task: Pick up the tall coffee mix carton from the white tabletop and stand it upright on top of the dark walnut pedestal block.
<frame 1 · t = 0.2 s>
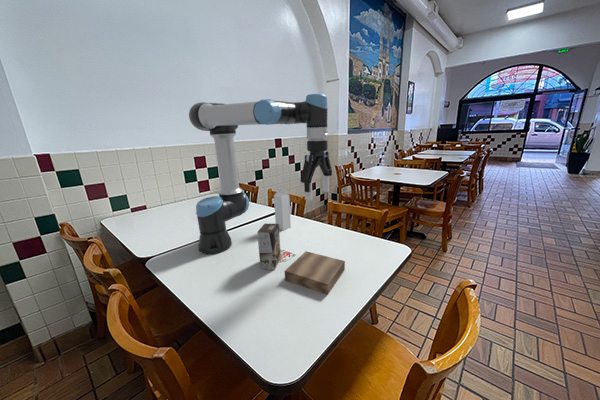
hand: (317, 195, 95), 27 cm above the table, tool pointing down, fingers open, 13 cm apart
milk: (283, 228, 135), on the table
walnut pedestal: (315, 275, 91), on the table
coffee box: (271, 263, 100), on the table
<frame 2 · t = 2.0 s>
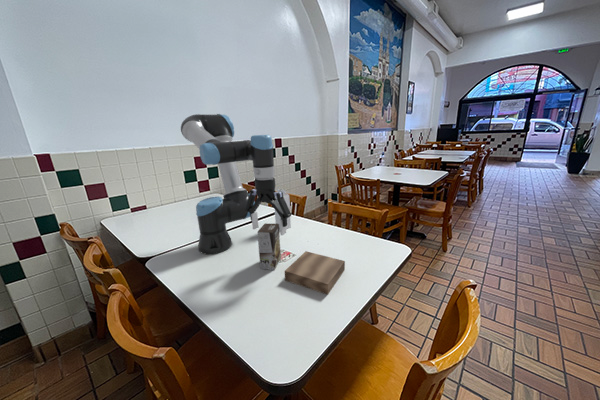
hand: (269, 231, 96), 15 cm above the table, tool pointing down, fingers open, 13 cm apart
nothing on the table moved.
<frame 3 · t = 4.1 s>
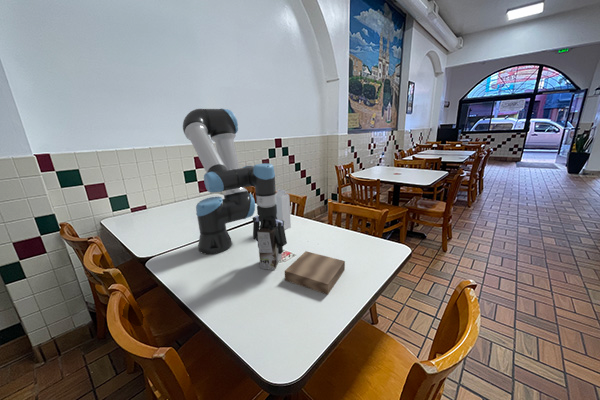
hand: (270, 257, 99), 3 cm above the table, tool pointing down, fingers closed on coffee box, 8 cm apart
coffee box: (271, 263, 100), on the table, touching gripper
everything else where it was.
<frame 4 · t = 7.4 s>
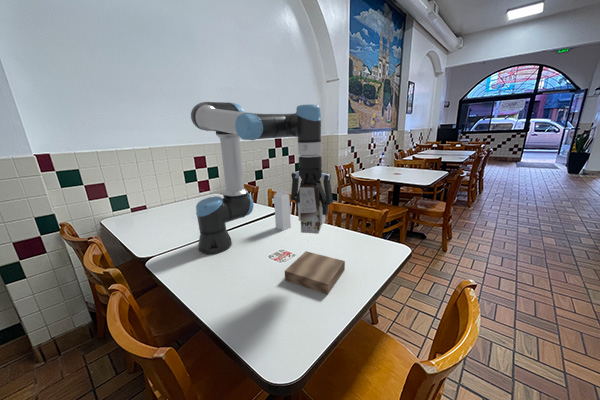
hand: (311, 221, 85), 22 cm above the table, tool pointing down, fingers closed on coffee box, 8 cm apart
coffee box: (312, 228, 86), point 19 cm above the table, touching gripper
everything else where it was.
when the fingers open (8 cm above the table, at t = 10.8 s): coffee box drops 1 cm, resting on walnut pedestal.
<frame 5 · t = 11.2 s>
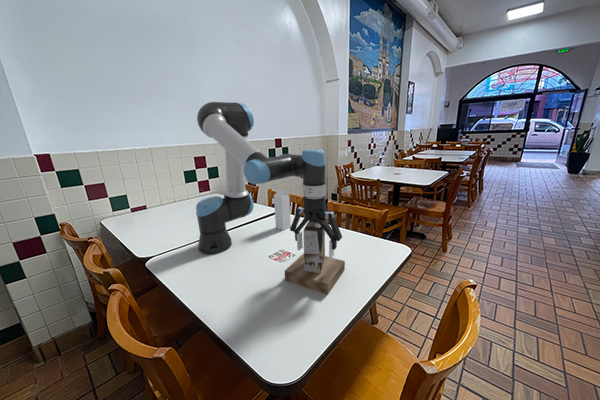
hand: (315, 252, 88), 9 cm above the table, tool pointing down, fingers open, 12 cm apart
coffee box: (315, 266, 90), point 4 cm above the table, touching walnut pedestal
everything else where it was.
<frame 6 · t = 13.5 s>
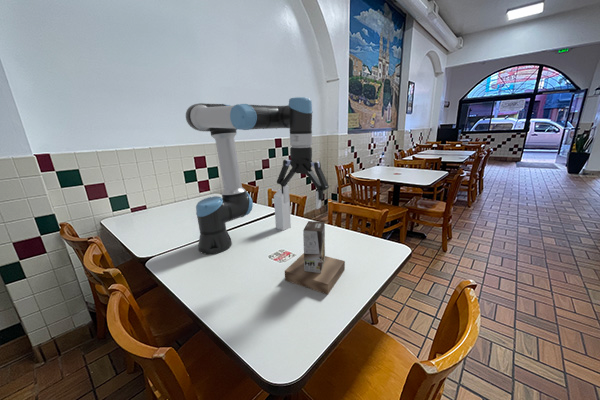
hand: (301, 205, 89), 26 cm above the table, tool pointing down, fingers open, 13 cm apart
nothing on the table moved.
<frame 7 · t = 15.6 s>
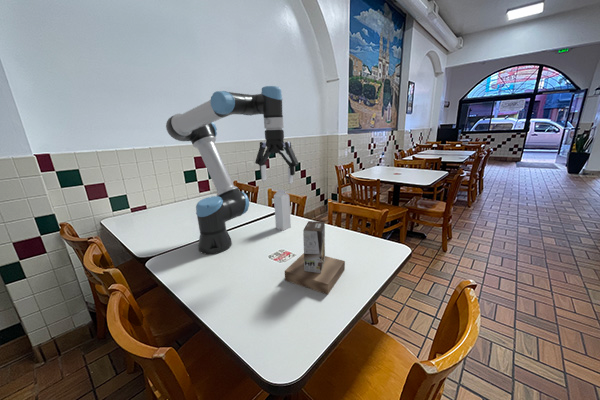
hand: (277, 181, 102), 32 cm above the table, tool pointing down, fingers open, 13 cm apart
nothing on the table moved.
at the end: coffee box inside the target area on the walnut pedestal (0.2 cm from its centre), point 3.8 cm above the walnut pedestal's base; coffee box tilted 0°; the gripper is holding nothing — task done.
